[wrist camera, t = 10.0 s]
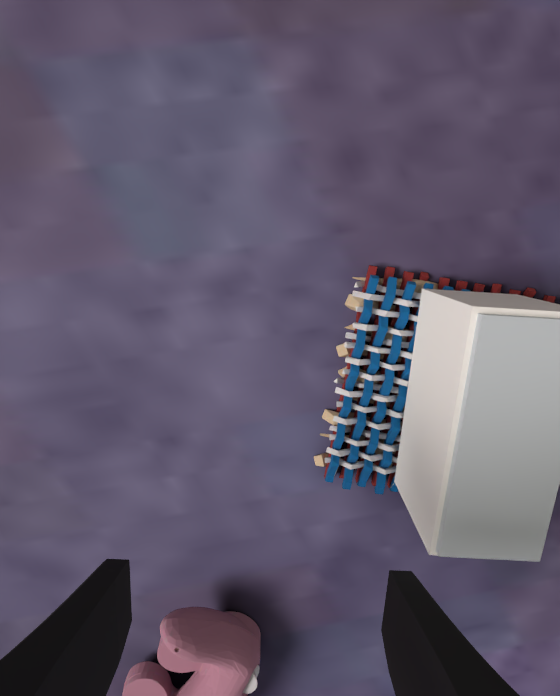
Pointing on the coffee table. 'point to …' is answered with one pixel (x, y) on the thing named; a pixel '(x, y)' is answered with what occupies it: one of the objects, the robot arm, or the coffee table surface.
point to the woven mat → (379, 376)
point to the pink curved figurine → (201, 655)
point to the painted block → (482, 424)
